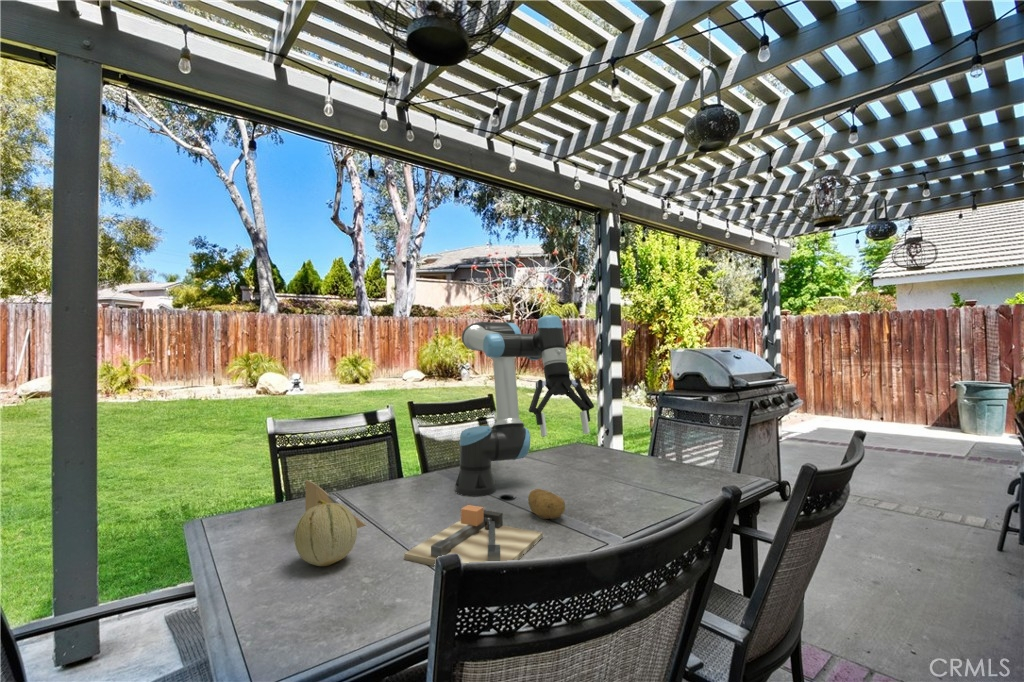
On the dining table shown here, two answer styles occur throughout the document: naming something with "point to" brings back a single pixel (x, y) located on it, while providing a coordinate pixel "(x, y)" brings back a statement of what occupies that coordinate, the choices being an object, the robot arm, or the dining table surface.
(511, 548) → the tongs board
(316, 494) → the sandwich container
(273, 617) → the dining table surface
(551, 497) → the potato
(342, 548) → the cantaloupe
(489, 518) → the upper tong arm
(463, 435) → the robot arm
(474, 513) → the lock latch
